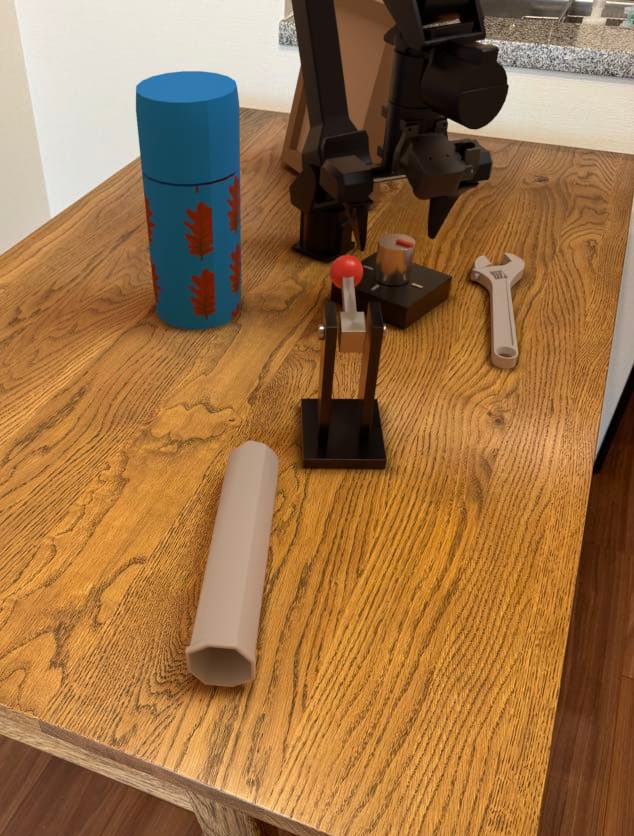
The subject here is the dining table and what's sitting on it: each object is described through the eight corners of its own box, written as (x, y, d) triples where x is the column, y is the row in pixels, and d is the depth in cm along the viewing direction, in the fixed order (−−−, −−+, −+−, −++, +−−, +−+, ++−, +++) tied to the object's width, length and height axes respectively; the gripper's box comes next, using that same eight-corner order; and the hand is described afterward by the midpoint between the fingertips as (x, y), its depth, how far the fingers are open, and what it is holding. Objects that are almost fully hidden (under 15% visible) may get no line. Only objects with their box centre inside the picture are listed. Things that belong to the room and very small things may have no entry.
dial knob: (367, 278, 96) (371, 240, 93) (387, 265, 98) (392, 227, 95) (397, 289, 94) (402, 251, 90) (417, 275, 96) (423, 238, 93)
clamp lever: (328, 276, 78) (330, 247, 76) (360, 276, 78) (363, 247, 76) (333, 356, 71) (336, 327, 69) (368, 356, 71) (372, 327, 68)
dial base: (330, 300, 98) (331, 277, 96) (375, 271, 103) (378, 248, 101) (403, 330, 93) (407, 306, 91) (448, 298, 98) (452, 274, 96)
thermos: (255, 296, 100) (255, 76, 82) (219, 338, 93) (211, 108, 75) (179, 280, 103) (164, 66, 85) (139, 319, 96) (113, 95, 78)
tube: (220, 435, 73) (172, 648, 56) (274, 424, 72) (242, 640, 54) (238, 477, 77) (199, 690, 59) (290, 467, 75) (266, 684, 58)
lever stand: (300, 407, 83) (306, 286, 73) (376, 407, 83) (392, 286, 73) (302, 468, 76) (310, 344, 66) (385, 469, 76) (405, 344, 66)
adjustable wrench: (516, 372, 87) (520, 358, 86) (457, 364, 88) (460, 350, 87) (522, 267, 103) (525, 254, 102) (472, 261, 105) (475, 249, 103)
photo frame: (348, 214, 116) (365, 16, 98) (280, 165, 130) (284, -16, 112) (431, 195, 120) (462, 2, 102) (356, 149, 134) (372, -28, 116)
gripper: (366, 137, 75) (351, 288, 86) (537, 112, 78) (501, 260, 90) (322, 102, 82) (313, 245, 93) (479, 81, 86) (453, 221, 97)
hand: (396, 243), depth 93 cm, fingers open, 9 cm apart
